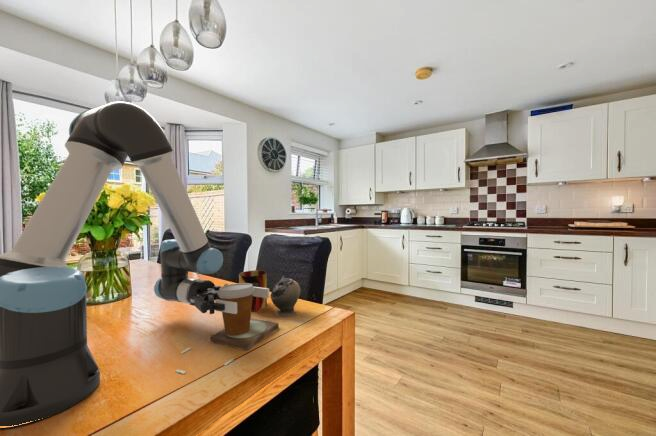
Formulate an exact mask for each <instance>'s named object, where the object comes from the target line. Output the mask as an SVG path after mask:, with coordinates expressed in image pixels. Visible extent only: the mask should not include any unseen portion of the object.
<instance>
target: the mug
mask: <svg viewBox="0 0 656 436" xmlns="http://www.w3.org/2000/svg"><path fill="white" fill-rule="evenodd" d="M238 279H239V280H238V283H249V284H251V283H253V284H255V287H261V288H268V287H267V284H268V283H267V271H265V270H247V271H246V270H245V271H242V272H239V274H238ZM267 302H268V298H262V297H255V296H253V297H252V308H251V312H253V311H256V312H257V313H258V312H260V311H261V309H265V308H266V307H267V305H268V303H267Z"/></svg>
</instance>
